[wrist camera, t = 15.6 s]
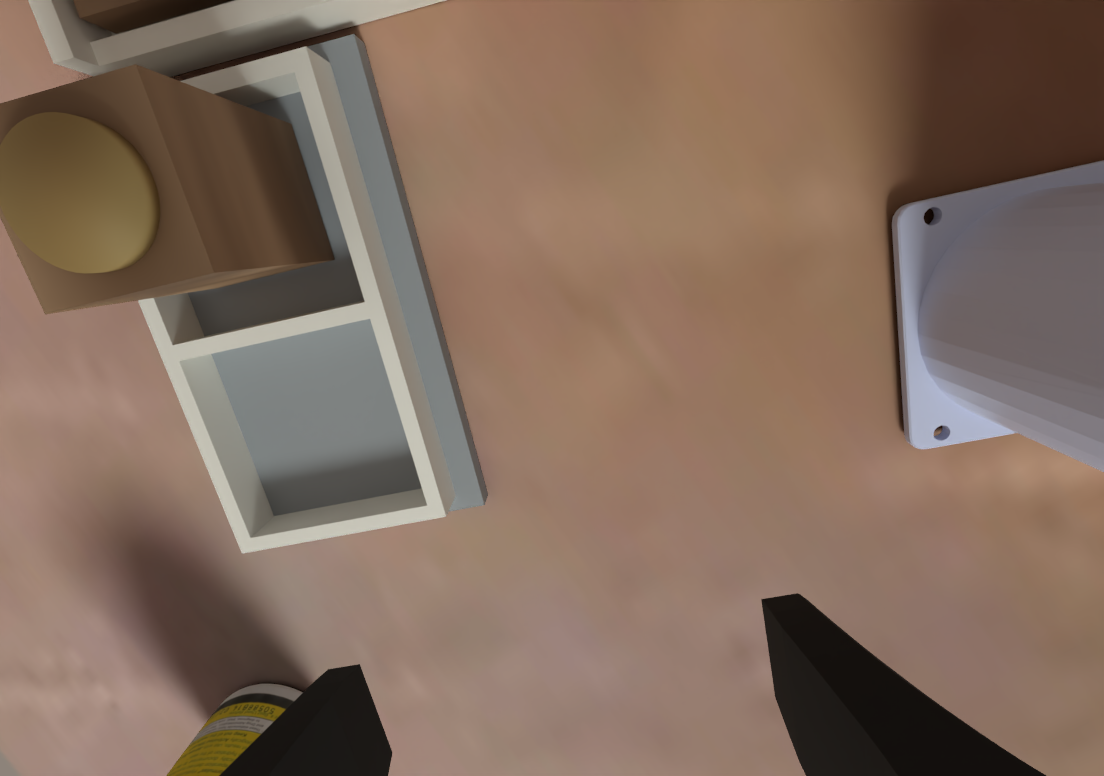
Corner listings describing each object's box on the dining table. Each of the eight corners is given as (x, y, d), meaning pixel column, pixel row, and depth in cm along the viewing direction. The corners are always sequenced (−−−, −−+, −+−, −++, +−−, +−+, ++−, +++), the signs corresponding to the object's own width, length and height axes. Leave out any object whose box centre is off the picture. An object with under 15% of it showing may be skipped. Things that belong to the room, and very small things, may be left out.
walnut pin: (291, 124, 16) (118, 57, 10) (335, 259, 17) (202, 273, 11) (168, 157, 17) (-69, 113, 11) (218, 288, 18) (27, 317, 12)
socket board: (364, 42, 17) (331, 13, 14) (487, 494, 20) (476, 526, 18) (93, 117, 17) (22, 100, 15) (260, 536, 21) (223, 572, 19)
